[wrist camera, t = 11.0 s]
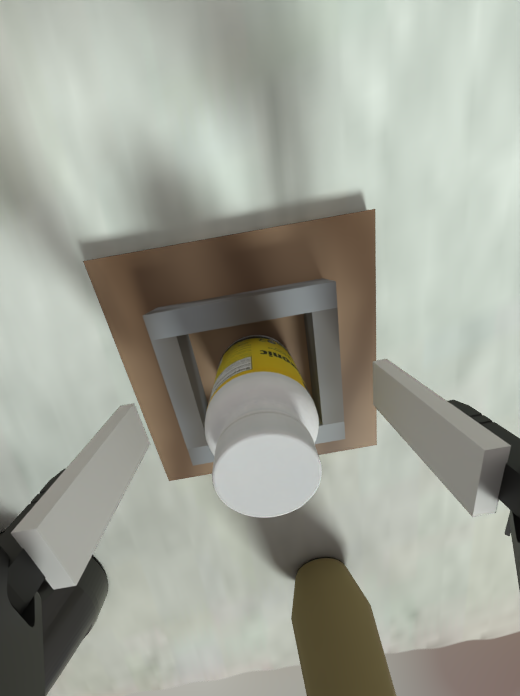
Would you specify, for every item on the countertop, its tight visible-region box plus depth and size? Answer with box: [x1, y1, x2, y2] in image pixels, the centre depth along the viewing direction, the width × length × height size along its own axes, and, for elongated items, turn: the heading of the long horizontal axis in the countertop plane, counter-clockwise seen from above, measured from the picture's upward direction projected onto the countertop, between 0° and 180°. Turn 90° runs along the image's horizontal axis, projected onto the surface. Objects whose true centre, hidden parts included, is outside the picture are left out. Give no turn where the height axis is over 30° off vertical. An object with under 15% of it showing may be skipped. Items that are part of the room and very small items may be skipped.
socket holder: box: [83, 209, 377, 481], centre depth 17 cm, size 18×18×4 cm
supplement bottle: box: [205, 335, 322, 518], centre depth 13 cm, size 5×5×10 cm
